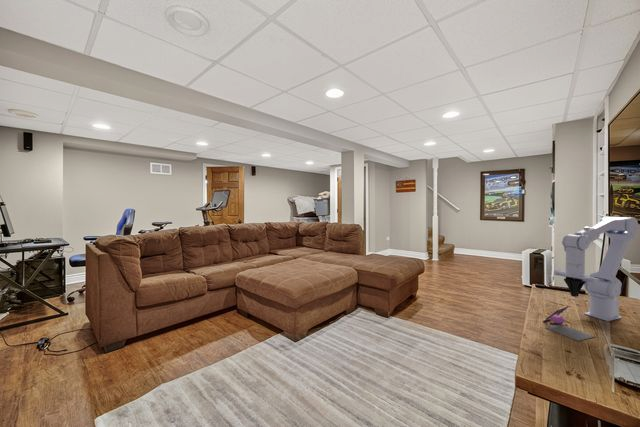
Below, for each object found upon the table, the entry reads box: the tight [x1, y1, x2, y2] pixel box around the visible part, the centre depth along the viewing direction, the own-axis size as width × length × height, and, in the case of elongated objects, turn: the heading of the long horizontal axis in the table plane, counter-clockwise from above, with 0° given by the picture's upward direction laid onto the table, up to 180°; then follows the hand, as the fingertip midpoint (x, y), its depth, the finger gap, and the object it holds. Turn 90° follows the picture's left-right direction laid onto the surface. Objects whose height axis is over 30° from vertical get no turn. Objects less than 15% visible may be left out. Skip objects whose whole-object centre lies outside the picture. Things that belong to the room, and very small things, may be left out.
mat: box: [544, 323, 596, 342], centre depth 103 cm, size 9×11×1 cm
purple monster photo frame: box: [542, 306, 570, 325], centre depth 110 cm, size 7×5×9 cm
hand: (574, 296), depth 112 cm, fingers closed
